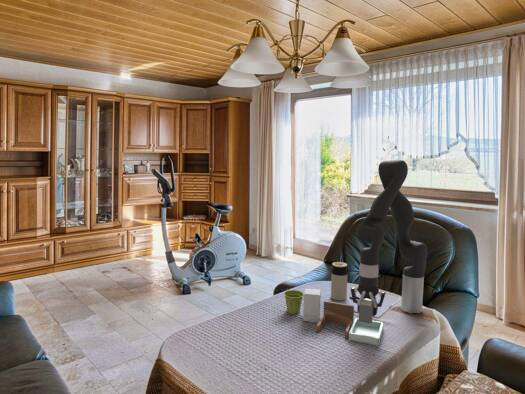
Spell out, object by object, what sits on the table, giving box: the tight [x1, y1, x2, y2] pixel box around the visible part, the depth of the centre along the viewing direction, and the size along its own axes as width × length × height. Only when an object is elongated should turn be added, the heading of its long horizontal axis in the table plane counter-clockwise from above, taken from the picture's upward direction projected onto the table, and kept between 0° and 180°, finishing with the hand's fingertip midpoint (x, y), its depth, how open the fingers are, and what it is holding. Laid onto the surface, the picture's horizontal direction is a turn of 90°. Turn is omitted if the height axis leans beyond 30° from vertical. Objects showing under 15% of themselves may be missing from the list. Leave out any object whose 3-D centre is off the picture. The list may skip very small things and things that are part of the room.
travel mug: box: [330, 261, 349, 302], centre depth 196 cm, size 8×8×18 cm
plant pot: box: [283, 289, 304, 314], centre depth 180 cm, size 9×9×9 cm
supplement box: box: [302, 288, 322, 323], centre depth 173 cm, size 7×7×13 cm
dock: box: [315, 300, 355, 340], centre depth 163 cm, size 13×13×9 cm
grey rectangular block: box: [358, 298, 375, 324], centre depth 157 cm, size 10×5×8 cm, turn 156°
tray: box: [348, 317, 384, 347], centre depth 158 cm, size 16×12×3 cm
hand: (367, 314), depth 157 cm, fingers closed on grey rectangular block, 5 cm apart
